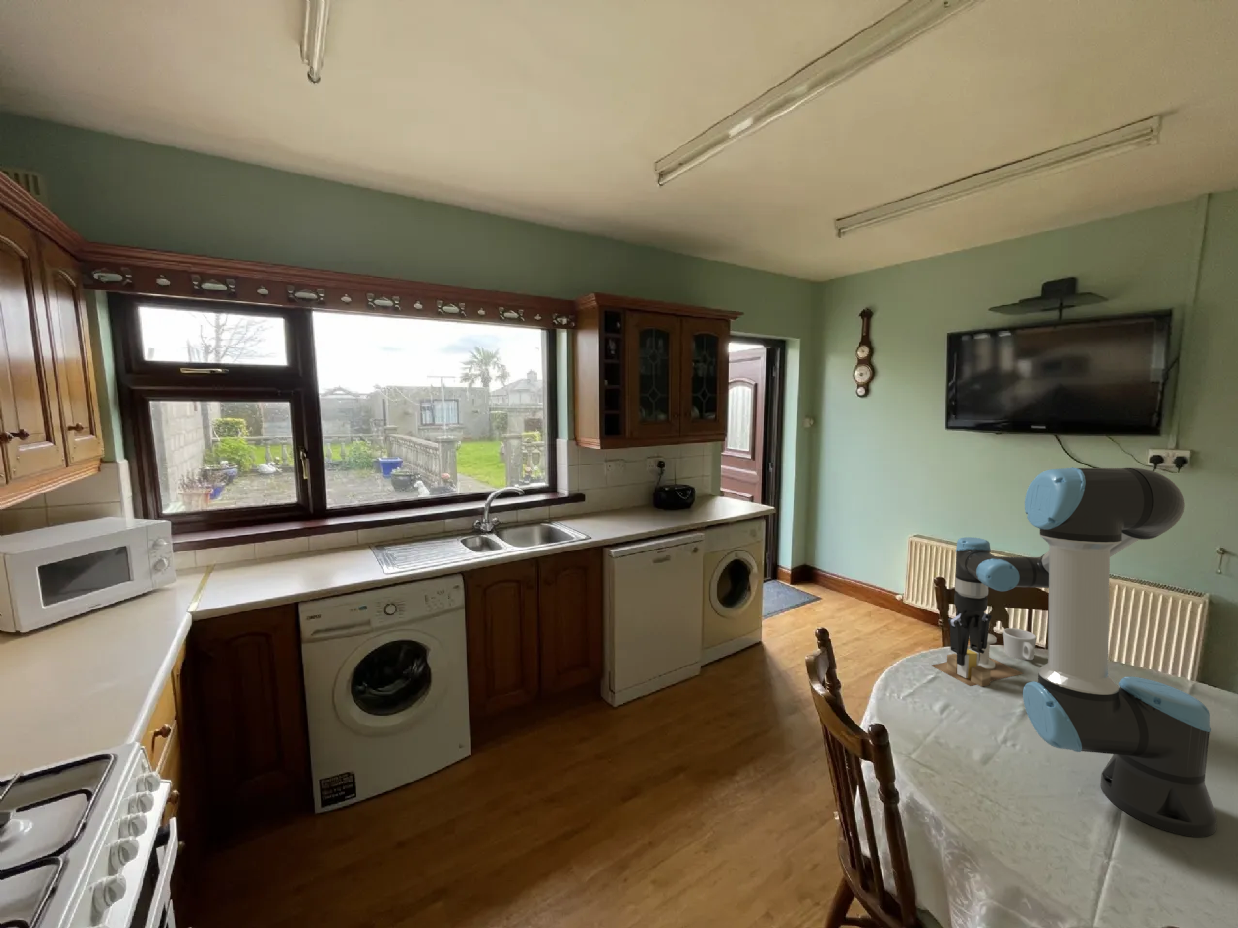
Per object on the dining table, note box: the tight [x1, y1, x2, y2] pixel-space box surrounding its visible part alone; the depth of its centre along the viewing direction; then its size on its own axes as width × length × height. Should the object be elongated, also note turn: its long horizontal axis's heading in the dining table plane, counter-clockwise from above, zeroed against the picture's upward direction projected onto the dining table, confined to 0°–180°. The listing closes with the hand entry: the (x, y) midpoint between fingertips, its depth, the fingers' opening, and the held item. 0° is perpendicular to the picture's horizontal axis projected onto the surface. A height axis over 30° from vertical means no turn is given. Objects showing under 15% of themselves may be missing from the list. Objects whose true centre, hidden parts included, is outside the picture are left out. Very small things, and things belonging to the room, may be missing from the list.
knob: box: [969, 632, 997, 670], centre depth 148 cm, size 7×7×9 cm
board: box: [931, 653, 1024, 688], centre depth 145 cm, size 13×20×5 cm, turn 107°
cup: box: [1002, 627, 1037, 661], centre depth 151 cm, size 11×8×8 cm
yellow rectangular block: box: [967, 648, 977, 679], centre depth 142 cm, size 3×3×7 cm
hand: (967, 674), depth 142 cm, fingers closed on yellow rectangular block, 3 cm apart
